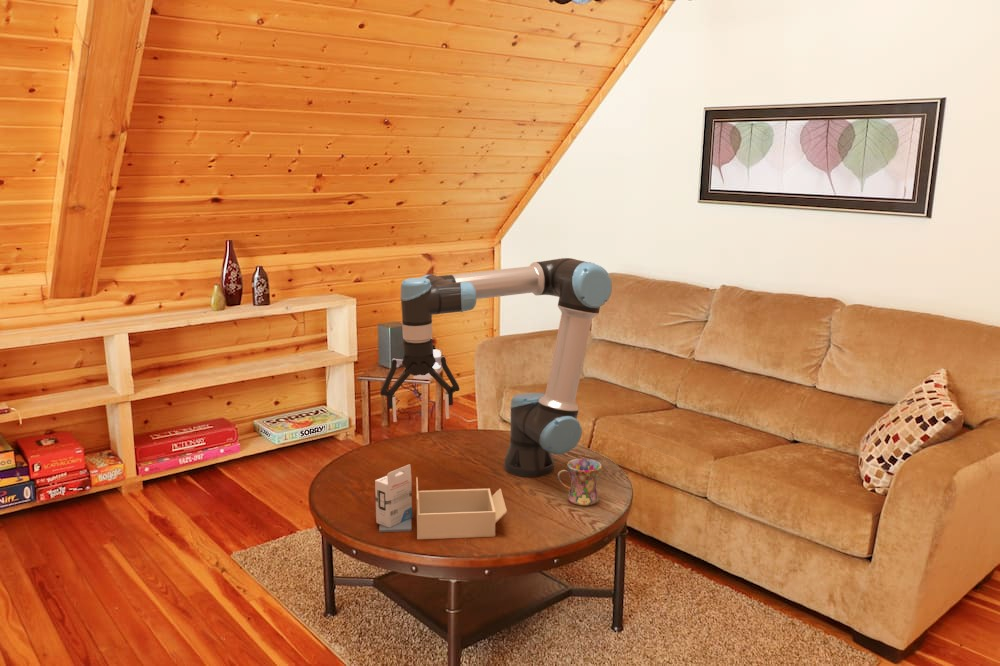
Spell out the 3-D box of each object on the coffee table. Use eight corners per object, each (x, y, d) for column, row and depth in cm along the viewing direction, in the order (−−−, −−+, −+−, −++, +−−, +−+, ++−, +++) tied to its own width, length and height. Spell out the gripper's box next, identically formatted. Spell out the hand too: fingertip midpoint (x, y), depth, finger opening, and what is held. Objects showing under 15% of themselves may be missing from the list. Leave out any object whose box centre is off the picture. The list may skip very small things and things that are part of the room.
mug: (594, 493, 229) (596, 457, 227) (604, 507, 220) (606, 470, 218) (553, 495, 227) (554, 459, 225) (561, 509, 218) (562, 472, 216)
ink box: (399, 511, 214) (398, 459, 211) (412, 517, 211) (412, 463, 208) (375, 522, 208) (373, 468, 204) (388, 528, 205) (387, 473, 201)
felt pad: (411, 512, 215) (411, 510, 215) (411, 531, 205) (411, 528, 205) (380, 513, 214) (380, 511, 214) (379, 532, 204) (379, 530, 204)
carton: (499, 506, 219) (499, 470, 217) (506, 535, 203) (507, 496, 201) (416, 509, 217) (416, 472, 215) (417, 539, 200) (416, 499, 198)
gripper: (465, 333, 213) (467, 411, 218) (368, 338, 210) (373, 416, 215) (468, 340, 206) (470, 420, 210) (367, 345, 203) (372, 426, 207)
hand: (421, 418), depth 213 cm, fingers open, 13 cm apart
